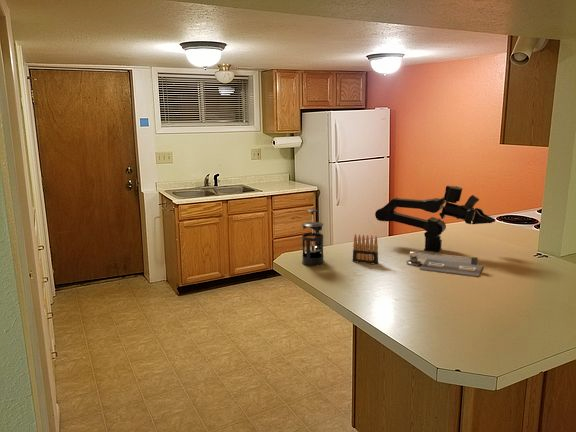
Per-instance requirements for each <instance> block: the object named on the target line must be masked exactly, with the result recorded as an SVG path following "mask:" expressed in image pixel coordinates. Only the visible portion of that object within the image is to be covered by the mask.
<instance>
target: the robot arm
mask: <svg viewBox="0 0 576 432" xmlns="http://www.w3.org/2000/svg"><path fill="white" fill-rule="evenodd" d="M462 192H463V187H460V186H454V185H446V186H445V191H444V196H443V197H441V198H438V197H437V198H427V199H413V198H412V199H411V198H401V197H400V198H399V197H394V198H392V199H390V200H389V202H387V204H385V205H384V206H383V207H380V208H379V209H377V210H376V211H375V213H374V216H375V219H376V220H377V221H380V222H395V223H400V224H403V225H408V226H410V227H415V228H419V229H422V230H424V231H425V232H424V234H423V235H424V239H425V242H424V248H423V250H424V251H427V252H428V251H430V252H437V253H438V252H439V251H441V249H442V245H443V244H442V242H443V241H442V239H441V238H442V237H441V235H442V233H443V232H444V231H446V228H447V225H446V222H445V221H444V220H443V219H444V218H446V216H449V217H452V218H456V219H457V220H463V221H464V222H465V224H468V225H481V224H482V225H483V224H493V223H495V222H496V219H497V218H496V219H495V218H493V217H492V216H490V215H487V214H485V212H484V211H483V209H482V208H479V207H475V205H476V204H478V202H479V201H480V198H478V196H475V195H474V194H471V195H470V196H469V197H468V199H467V201H466V202H465V203H464V204H461V205H460V204H457V202H460V200H461V196H462ZM444 204H445V205H444ZM397 208H403V209H404V208H407V209H419V210H423V211H424V212H429V213H433V214H434V213H435V214H436V213H438V212H439V213H438V215H439V216H440V218H436V217H433V216H431V217H429V218H428V219H425V218H424V219H423V218H420V217H417V216H416V217H415V216H411V215H408V214H405V213H399V212H397V211H395V210H396V209H397ZM440 210H441V212H440Z"/></svg>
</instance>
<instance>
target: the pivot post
mask: <svg viewBox="0 0 576 432" xmlns="http://www.w3.org/2000/svg"><path fill="white" fill-rule="evenodd" d="M418 259H419V258H411V257H409V260H406V263H407V264H406V263H405V264H406V265H408V266H412V265H413V267H416V266H420V265H421V266H422V262H421V261H420V260H418Z"/></svg>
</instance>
